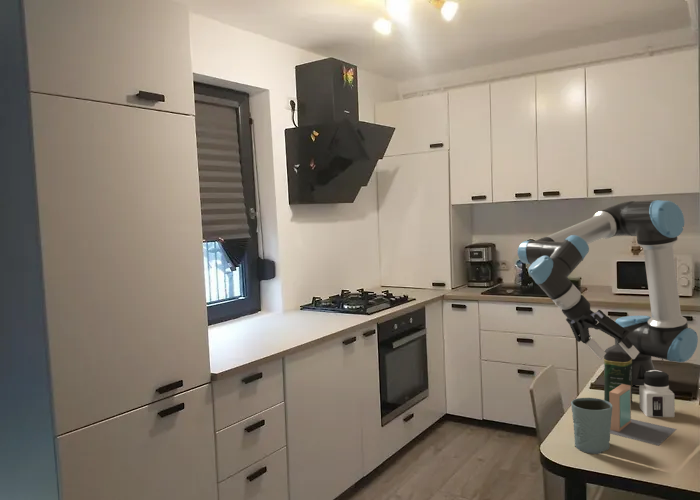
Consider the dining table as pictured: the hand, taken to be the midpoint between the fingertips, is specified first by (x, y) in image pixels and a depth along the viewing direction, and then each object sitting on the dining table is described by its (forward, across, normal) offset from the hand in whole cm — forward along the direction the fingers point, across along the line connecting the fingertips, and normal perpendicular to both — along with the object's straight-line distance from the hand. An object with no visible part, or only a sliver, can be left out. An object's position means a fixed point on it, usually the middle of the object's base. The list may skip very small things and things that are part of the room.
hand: (618, 356), depth 168 cm
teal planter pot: (+7, +5, -28) cm, 29 cm away
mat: (+17, +2, -13) cm, 21 cm away
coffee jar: (+20, -17, -1) cm, 26 cm away
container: (+24, -6, 0) cm, 25 cm away
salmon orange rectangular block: (+14, -2, -14) cm, 20 cm away
